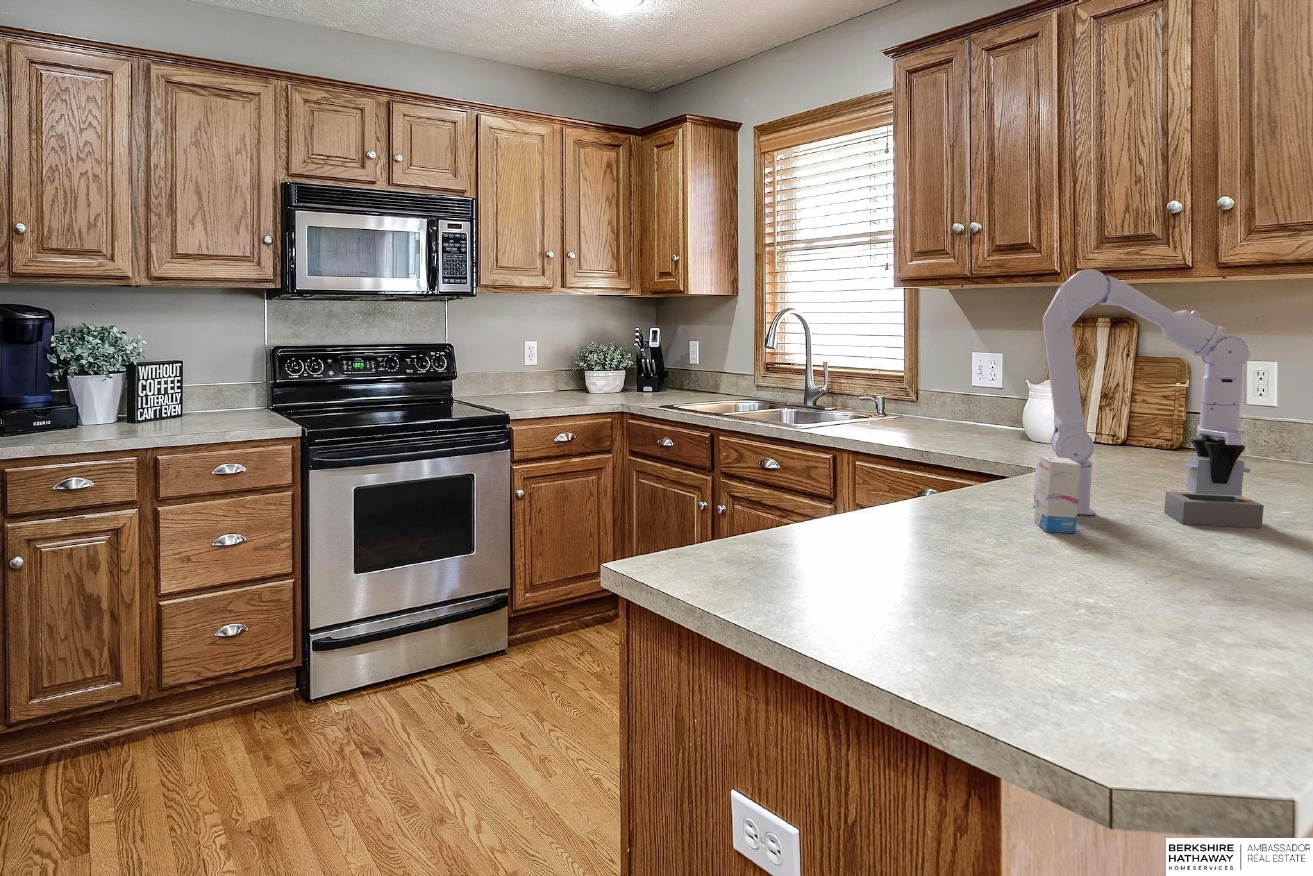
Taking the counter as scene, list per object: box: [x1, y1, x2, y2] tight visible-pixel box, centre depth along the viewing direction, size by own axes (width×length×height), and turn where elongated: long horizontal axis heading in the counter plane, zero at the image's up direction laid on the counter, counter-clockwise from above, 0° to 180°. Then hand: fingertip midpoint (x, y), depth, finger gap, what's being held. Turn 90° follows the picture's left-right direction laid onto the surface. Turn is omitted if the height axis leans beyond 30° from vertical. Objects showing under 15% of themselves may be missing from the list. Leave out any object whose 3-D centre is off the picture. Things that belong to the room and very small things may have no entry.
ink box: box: [1033, 456, 1081, 534], centre depth 144 cm, size 8×5×12 cm, turn 168°
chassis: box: [1163, 490, 1264, 529], centre depth 150 cm, size 12×10×4 cm
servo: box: [1182, 455, 1251, 496], centre depth 150 cm, size 9×4×7 cm, turn 75°
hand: (1214, 480), depth 150 cm, fingers closed on servo, 4 cm apart
